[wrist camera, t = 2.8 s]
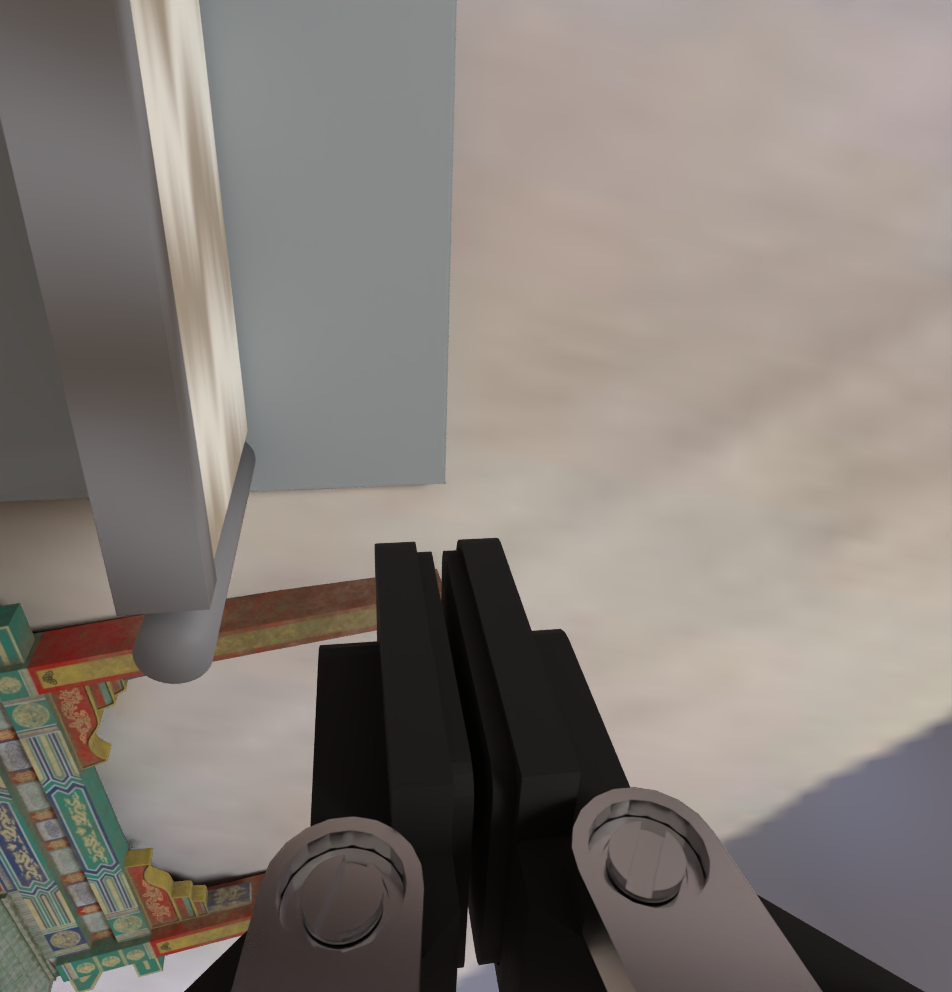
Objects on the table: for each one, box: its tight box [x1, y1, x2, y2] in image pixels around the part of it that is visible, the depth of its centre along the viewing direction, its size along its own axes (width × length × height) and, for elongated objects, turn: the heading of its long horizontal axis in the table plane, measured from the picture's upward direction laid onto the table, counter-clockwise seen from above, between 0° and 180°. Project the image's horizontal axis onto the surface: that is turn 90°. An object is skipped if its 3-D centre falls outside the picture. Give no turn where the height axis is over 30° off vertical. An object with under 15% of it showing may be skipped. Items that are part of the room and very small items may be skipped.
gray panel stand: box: [0, 0, 457, 684], centre depth 18 cm, size 22×20×12 cm
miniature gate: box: [0, 569, 442, 992], centre depth 33 cm, size 27×6×30 cm
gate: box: [0, 0, 248, 616], centre depth 18 cm, size 15×2×11 cm, turn 178°
